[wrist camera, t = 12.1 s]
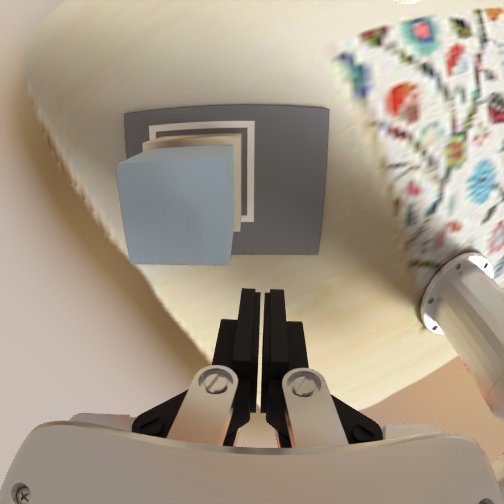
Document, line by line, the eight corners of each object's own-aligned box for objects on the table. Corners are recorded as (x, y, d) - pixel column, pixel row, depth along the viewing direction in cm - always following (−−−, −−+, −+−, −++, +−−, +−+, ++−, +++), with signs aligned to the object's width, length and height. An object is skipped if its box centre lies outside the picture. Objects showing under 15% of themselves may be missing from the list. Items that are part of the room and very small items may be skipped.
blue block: (233, 145, 19) (227, 158, 14) (234, 225, 22) (229, 265, 17) (150, 149, 19) (115, 164, 14) (157, 226, 22) (130, 264, 17)
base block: (241, 133, 24) (239, 138, 19) (241, 210, 27) (240, 231, 22) (161, 136, 24) (142, 143, 19) (166, 211, 27) (151, 232, 22)
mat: (328, 109, 23) (329, 109, 23) (317, 252, 29) (318, 255, 29) (125, 113, 23) (123, 113, 22) (140, 252, 29) (139, 254, 29)
